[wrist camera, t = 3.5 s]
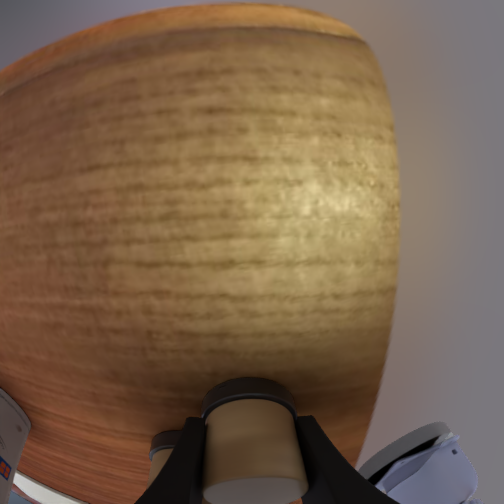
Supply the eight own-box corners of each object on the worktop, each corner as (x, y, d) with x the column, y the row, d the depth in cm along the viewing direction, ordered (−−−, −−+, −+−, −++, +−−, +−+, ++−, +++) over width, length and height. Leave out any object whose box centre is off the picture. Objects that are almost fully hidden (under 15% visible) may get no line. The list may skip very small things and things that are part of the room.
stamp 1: (226, 432, 11) (226, 511, 7) (226, 467, 12) (228, 531, 8) (145, 425, 11) (127, 499, 6) (159, 462, 12) (149, 522, 8)
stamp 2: (300, 375, 10) (328, 466, 6) (287, 431, 11) (303, 507, 7) (199, 375, 10) (188, 472, 6) (204, 432, 11) (200, 510, 7)
